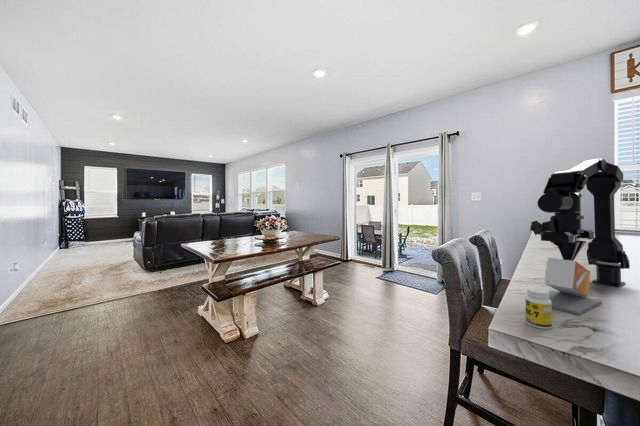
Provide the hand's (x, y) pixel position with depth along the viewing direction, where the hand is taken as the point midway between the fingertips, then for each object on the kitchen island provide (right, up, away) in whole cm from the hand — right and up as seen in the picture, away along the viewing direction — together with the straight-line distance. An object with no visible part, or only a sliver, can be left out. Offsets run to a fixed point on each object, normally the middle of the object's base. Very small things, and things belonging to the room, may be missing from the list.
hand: (568, 263), depth 75 cm
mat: (-4, -11, -3) cm, 12 cm away
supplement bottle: (-23, -12, -15) cm, 30 cm away
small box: (+5, -6, +2) cm, 8 cm away
